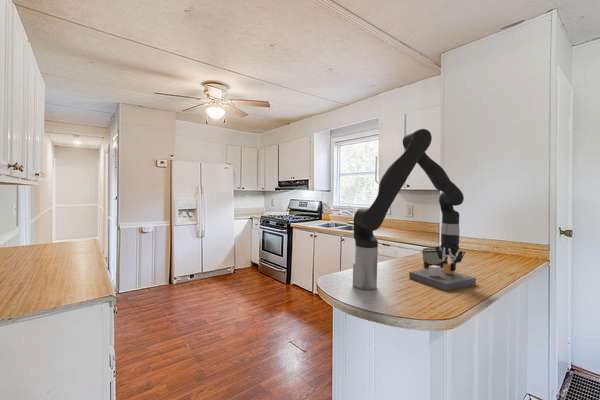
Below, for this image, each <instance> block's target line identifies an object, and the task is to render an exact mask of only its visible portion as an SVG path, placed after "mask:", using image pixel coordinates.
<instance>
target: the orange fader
mask: <svg viewBox="0 0 600 400" xmlns="http://www.w3.org/2000/svg"><path fill="white" fill-rule="evenodd" d="M455 271H456V270H455ZM455 271H451V262H450V263H449V262H448V263H446V264H443V272H444V273H447V274H452V273H455Z"/></svg>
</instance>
